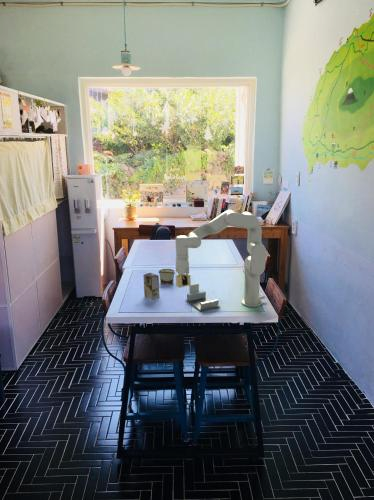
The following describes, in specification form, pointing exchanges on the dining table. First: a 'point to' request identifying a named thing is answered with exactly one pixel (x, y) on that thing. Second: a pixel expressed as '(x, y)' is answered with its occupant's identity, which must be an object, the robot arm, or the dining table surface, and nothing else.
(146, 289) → the coffee box
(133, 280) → the dining table surface
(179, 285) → the block
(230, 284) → the dining table surface
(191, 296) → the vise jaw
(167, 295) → the dining table surface
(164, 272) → the food container
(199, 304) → the panel
